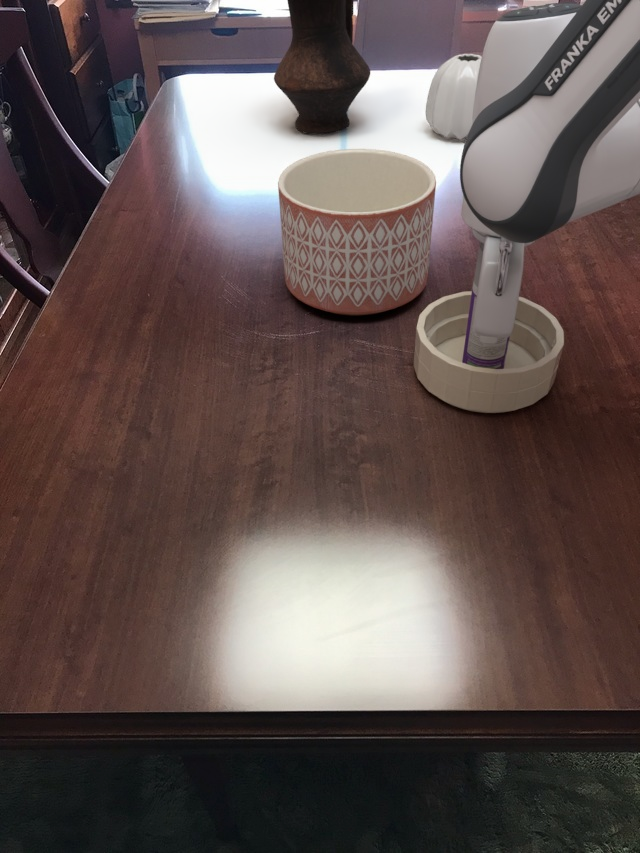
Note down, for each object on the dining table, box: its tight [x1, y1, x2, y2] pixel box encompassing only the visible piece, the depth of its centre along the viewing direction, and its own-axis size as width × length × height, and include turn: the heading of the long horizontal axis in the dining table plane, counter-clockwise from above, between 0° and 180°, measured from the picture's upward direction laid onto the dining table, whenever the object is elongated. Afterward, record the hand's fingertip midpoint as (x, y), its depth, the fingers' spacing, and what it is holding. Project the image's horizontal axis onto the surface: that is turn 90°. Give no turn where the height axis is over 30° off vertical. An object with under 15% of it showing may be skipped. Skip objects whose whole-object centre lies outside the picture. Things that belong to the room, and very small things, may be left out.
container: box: [462, 242, 526, 369], centre depth 73 cm, size 5×5×15 cm
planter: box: [277, 148, 437, 317], centre depth 89 cm, size 19×19×15 cm
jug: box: [273, 0, 371, 135], centre depth 129 cm, size 21×18×30 cm
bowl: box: [413, 290, 565, 414], centre depth 77 cm, size 16×16×6 cm
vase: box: [425, 53, 482, 141], centre depth 129 cm, size 14×14×13 cm
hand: (489, 323), depth 74 cm, fingers open, 5 cm apart
